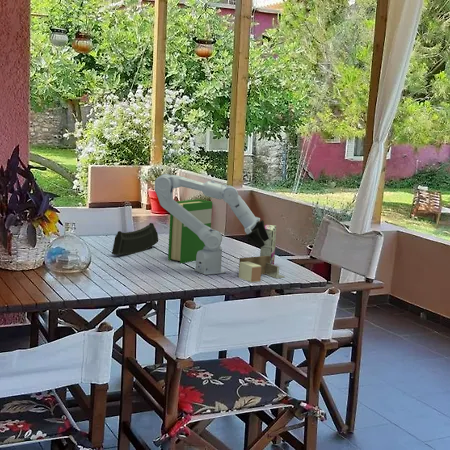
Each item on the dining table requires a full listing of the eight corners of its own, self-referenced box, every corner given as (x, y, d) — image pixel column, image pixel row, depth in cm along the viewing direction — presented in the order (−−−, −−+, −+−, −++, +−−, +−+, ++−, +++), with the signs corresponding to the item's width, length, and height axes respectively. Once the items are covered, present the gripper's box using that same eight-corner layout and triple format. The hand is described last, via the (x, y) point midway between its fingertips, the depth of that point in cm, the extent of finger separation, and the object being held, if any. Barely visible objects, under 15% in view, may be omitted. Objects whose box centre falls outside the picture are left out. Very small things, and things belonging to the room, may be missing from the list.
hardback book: (181, 263, 275) (184, 204, 271) (167, 260, 279) (170, 202, 275) (208, 257, 289) (212, 201, 285) (195, 254, 293) (198, 199, 289)
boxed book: (251, 282, 251) (252, 266, 250) (238, 277, 257) (239, 262, 256) (260, 281, 253) (261, 265, 252) (247, 276, 259) (248, 261, 258)
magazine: (115, 237, 274) (155, 208, 298) (108, 236, 275) (148, 208, 300) (121, 274, 281) (159, 244, 305) (114, 273, 282) (153, 243, 307)
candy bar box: (262, 263, 284) (265, 224, 282) (274, 264, 283) (277, 225, 281) (258, 268, 274) (261, 228, 271) (270, 270, 273) (273, 229, 270)
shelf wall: (240, 276, 258) (241, 258, 257) (238, 276, 259) (239, 258, 258) (269, 273, 266) (270, 256, 265) (267, 273, 267) (268, 255, 266)
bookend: (276, 278, 259) (277, 266, 259) (265, 274, 265) (265, 262, 264) (284, 277, 262) (285, 265, 261) (273, 273, 267) (273, 262, 266)
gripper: (247, 214, 251) (269, 243, 252) (256, 203, 264) (276, 231, 265) (233, 223, 253) (254, 253, 255) (242, 212, 267) (262, 240, 268)
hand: (264, 243), depth 260 cm, fingers open, 7 cm apart
